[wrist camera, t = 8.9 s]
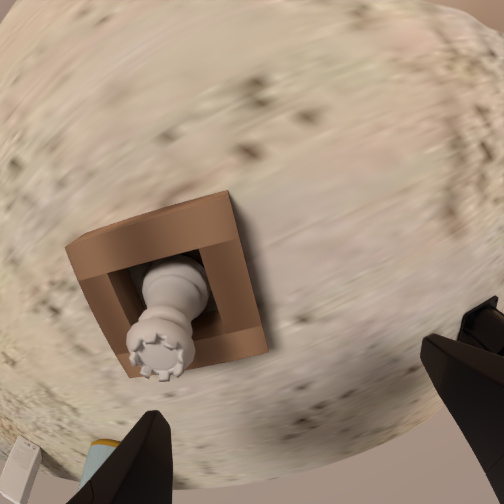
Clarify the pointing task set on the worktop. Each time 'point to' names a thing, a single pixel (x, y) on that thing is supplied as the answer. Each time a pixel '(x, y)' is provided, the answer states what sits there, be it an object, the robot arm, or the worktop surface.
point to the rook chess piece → (168, 316)
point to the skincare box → (20, 471)
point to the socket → (163, 245)
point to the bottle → (97, 457)
